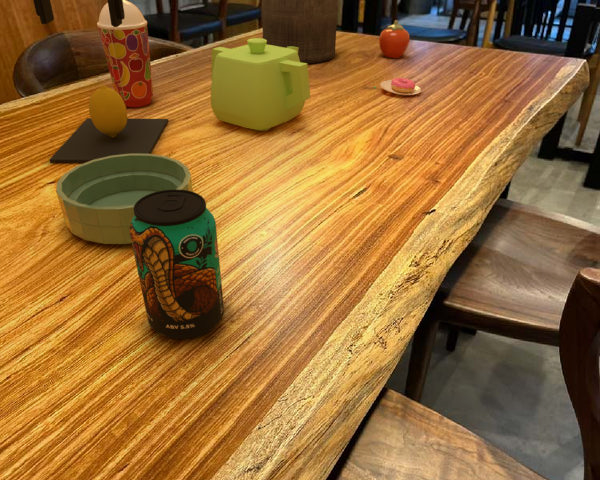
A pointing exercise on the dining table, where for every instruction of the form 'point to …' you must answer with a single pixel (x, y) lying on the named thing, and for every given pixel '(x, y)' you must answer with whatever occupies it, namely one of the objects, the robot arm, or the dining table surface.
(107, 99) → the lemon
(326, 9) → the planter
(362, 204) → the dining table surface
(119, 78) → the smoothie
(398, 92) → the donut
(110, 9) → the robot arm
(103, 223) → the bowl
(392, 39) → the tomato
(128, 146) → the mat
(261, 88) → the teapot
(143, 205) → the beverage can
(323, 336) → the dining table surface
